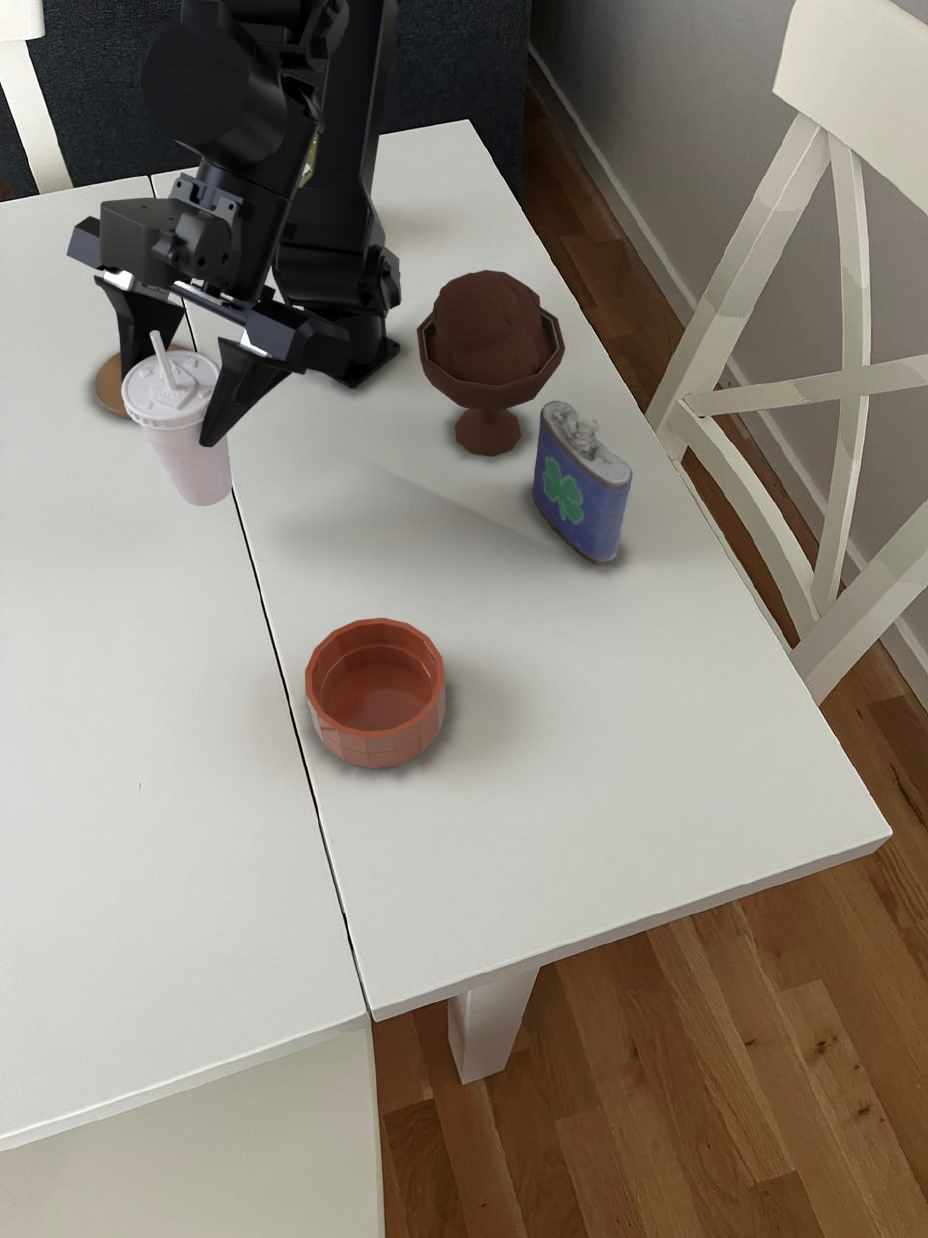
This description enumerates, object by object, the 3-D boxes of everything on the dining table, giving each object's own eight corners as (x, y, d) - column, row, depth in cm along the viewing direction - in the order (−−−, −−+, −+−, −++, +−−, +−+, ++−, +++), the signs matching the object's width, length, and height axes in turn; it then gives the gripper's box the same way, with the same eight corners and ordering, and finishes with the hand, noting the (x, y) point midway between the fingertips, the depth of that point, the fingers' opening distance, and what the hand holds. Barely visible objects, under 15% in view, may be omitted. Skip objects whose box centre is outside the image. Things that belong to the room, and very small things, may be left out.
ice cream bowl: (545, 489, 77) (560, 334, 64) (406, 468, 78) (394, 312, 66) (565, 396, 82) (582, 237, 70) (435, 378, 84) (429, 219, 71)
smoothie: (166, 530, 68) (103, 374, 56) (154, 464, 71) (92, 304, 59) (259, 508, 69) (216, 351, 57) (242, 444, 72) (198, 283, 60)
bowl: (373, 633, 69) (368, 596, 65) (471, 700, 66) (471, 665, 62) (286, 720, 65) (276, 685, 61) (386, 795, 62) (381, 763, 58)
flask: (623, 557, 73) (644, 455, 64) (591, 574, 72) (608, 473, 63) (551, 479, 77) (561, 373, 68) (520, 494, 76) (526, 389, 68)
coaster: (155, 333, 87) (153, 328, 87) (226, 376, 84) (225, 371, 83) (74, 389, 83) (71, 383, 83) (146, 436, 80) (144, 431, 79)
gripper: (32, 84, 55) (-40, 352, 59) (293, 192, 49) (194, 481, 53) (167, 151, 65) (97, 376, 69) (396, 248, 59) (306, 487, 63)
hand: (166, 425), depth 63 cm, fingers closed on smoothie, 6 cm apart
